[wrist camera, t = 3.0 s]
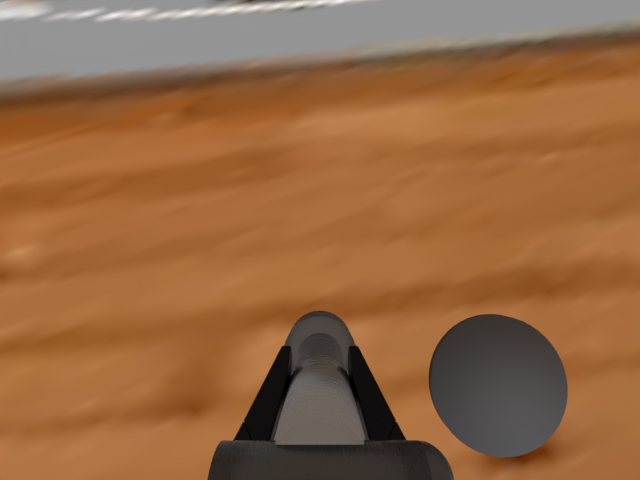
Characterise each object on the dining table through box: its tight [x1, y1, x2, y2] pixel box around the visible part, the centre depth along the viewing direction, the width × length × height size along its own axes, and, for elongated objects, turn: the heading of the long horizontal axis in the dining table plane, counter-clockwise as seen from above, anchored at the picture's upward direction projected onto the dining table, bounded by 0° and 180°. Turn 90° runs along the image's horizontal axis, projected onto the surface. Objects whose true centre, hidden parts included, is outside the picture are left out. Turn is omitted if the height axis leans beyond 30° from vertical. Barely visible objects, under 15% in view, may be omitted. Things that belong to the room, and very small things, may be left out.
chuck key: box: [207, 311, 454, 480], centre depth 13 cm, size 4×6×14 cm
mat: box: [429, 314, 568, 458], centre depth 19 cm, size 9×9×1 cm
